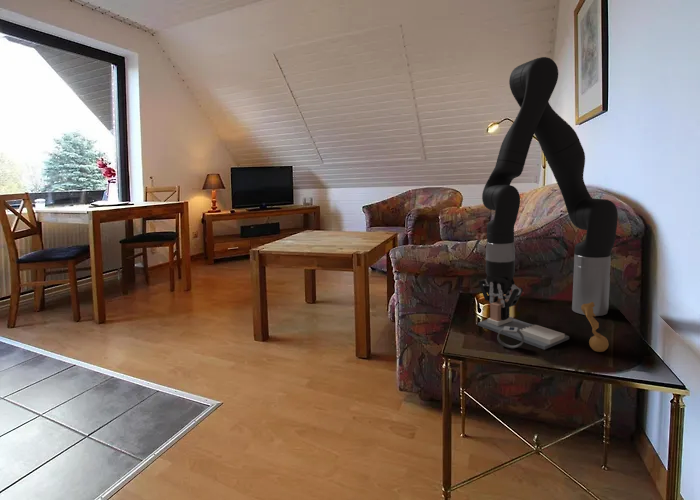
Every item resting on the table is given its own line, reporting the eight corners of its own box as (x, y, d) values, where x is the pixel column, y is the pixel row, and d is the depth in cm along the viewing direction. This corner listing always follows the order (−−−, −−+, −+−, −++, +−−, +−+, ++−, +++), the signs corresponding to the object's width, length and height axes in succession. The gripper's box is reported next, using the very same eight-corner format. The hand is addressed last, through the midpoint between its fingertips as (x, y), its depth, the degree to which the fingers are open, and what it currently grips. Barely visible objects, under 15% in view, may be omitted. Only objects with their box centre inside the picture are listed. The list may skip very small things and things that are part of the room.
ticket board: (501, 317, 128) (501, 310, 127) (569, 339, 110) (569, 331, 109) (477, 325, 123) (477, 318, 122) (544, 349, 105) (544, 341, 104)
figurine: (608, 359, 98) (611, 309, 96) (578, 355, 101) (580, 306, 99) (608, 345, 105) (610, 298, 103) (580, 341, 108) (582, 295, 106)
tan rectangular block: (501, 317, 125) (501, 298, 124) (512, 321, 122) (512, 302, 121) (487, 322, 122) (487, 303, 121) (498, 326, 119) (498, 306, 118)
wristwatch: (496, 347, 108) (496, 328, 107) (498, 343, 110) (498, 324, 109) (522, 351, 105) (523, 332, 104) (524, 347, 107) (524, 327, 106)
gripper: (531, 259, 114) (529, 321, 118) (489, 252, 126) (489, 308, 129) (512, 264, 111) (511, 328, 114) (471, 256, 122) (471, 314, 126)
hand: (499, 317), depth 122 cm, fingers closed on tan rectangular block, 2 cm apart
